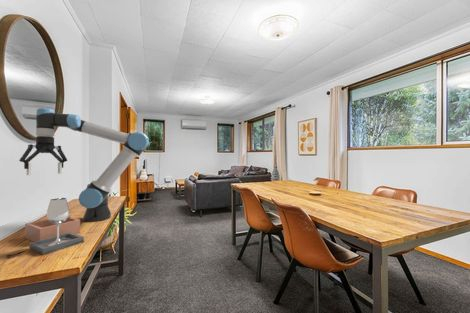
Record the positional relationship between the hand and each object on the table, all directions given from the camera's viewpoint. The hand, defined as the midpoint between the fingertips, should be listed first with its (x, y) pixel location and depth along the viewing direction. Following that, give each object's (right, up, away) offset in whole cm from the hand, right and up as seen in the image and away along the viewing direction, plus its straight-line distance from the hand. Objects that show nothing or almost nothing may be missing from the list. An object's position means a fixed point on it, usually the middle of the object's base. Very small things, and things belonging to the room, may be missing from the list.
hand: (44, 174), depth 116 cm
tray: (+26, -30, -22) cm, 46 cm away
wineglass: (+26, -30, -22) cm, 45 cm away
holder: (+13, -31, -10) cm, 35 cm away
